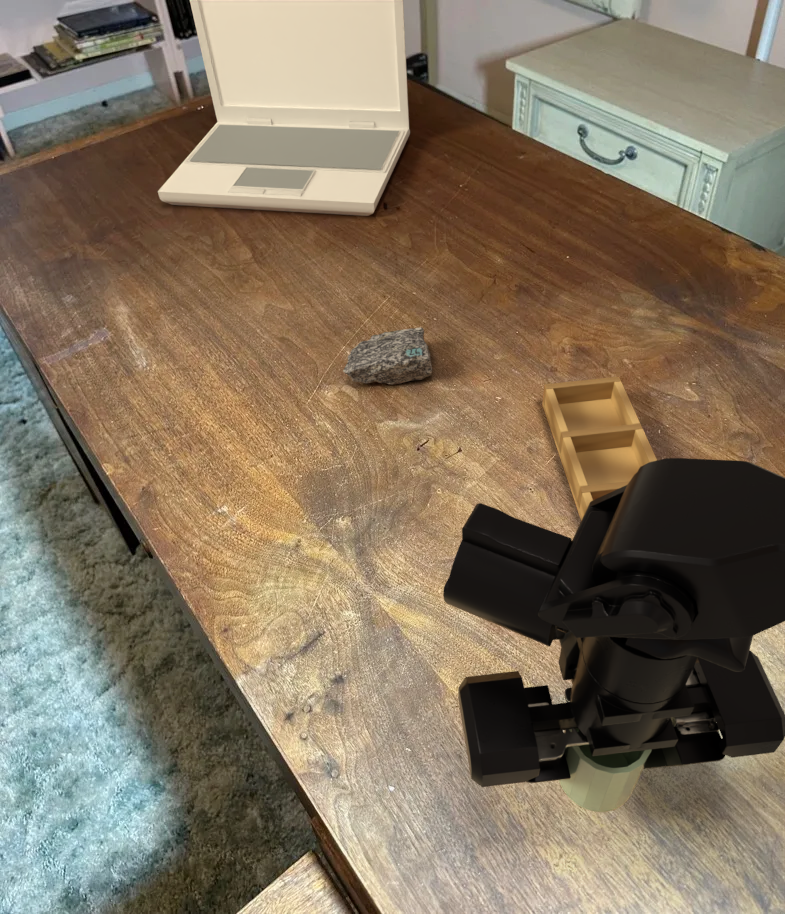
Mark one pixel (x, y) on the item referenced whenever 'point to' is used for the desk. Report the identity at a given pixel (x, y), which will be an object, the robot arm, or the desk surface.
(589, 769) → the cup
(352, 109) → the laptop
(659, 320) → the desk surface
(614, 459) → the rack
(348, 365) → the rock
